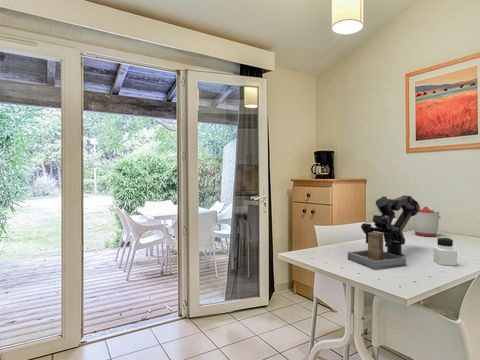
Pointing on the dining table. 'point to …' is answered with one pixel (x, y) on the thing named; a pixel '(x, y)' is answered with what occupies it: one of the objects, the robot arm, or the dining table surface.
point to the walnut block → (375, 246)
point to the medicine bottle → (445, 252)
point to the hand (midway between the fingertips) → (375, 244)
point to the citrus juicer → (426, 222)
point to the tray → (387, 261)
